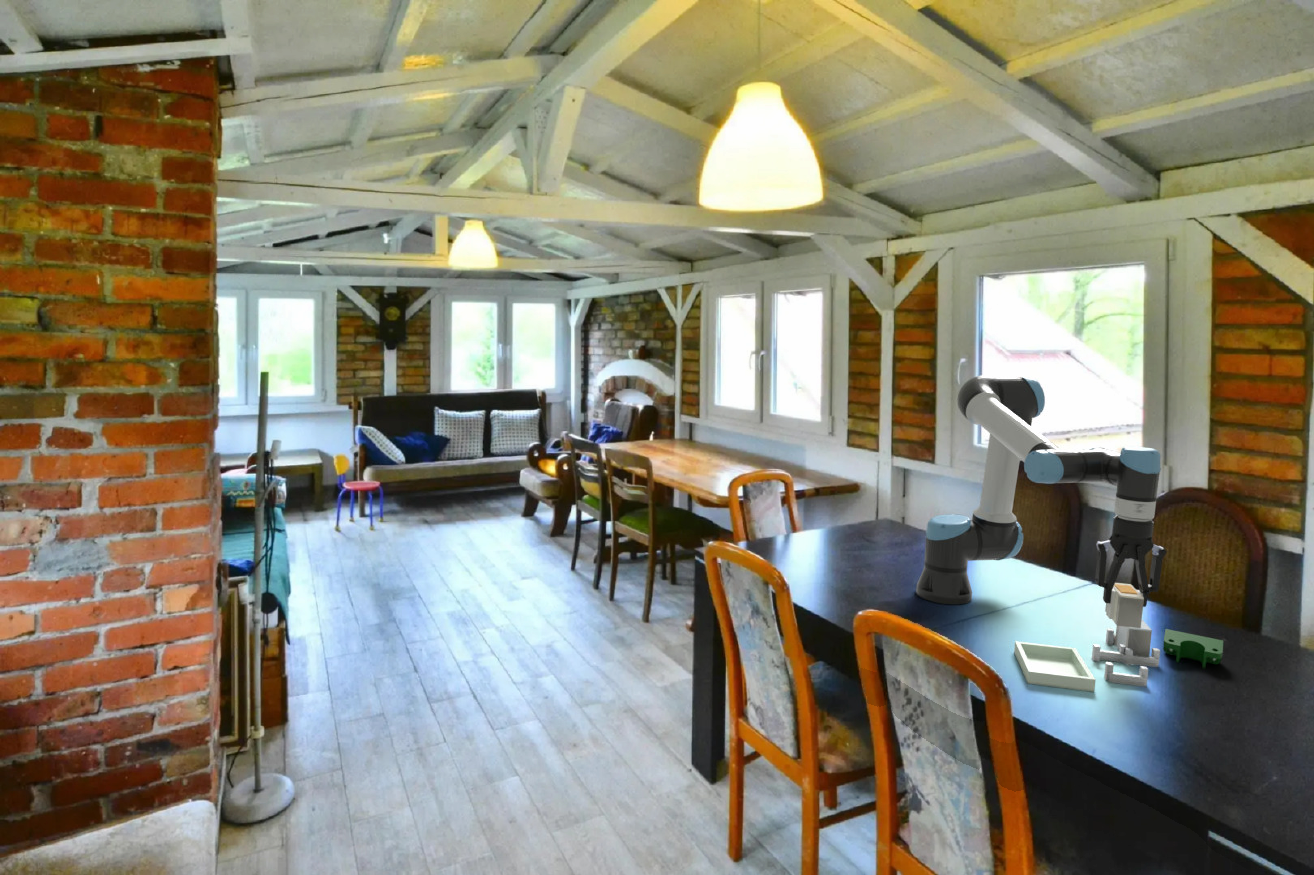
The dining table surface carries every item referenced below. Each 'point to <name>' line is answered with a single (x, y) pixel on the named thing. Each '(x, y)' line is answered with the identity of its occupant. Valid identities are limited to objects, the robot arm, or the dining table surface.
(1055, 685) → the tray
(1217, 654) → the clamp
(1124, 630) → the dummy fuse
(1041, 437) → the robot arm
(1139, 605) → the block
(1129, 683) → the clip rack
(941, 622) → the dining table surface
